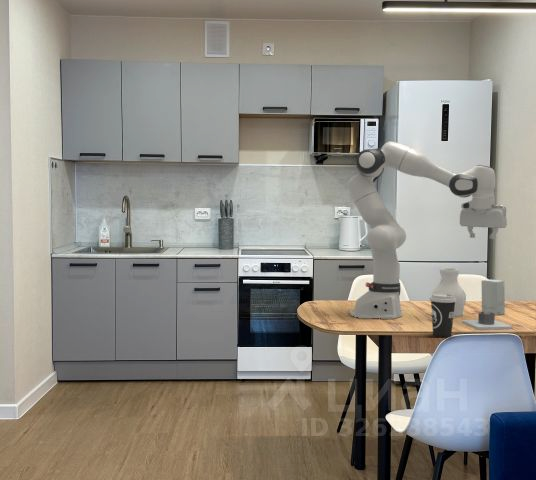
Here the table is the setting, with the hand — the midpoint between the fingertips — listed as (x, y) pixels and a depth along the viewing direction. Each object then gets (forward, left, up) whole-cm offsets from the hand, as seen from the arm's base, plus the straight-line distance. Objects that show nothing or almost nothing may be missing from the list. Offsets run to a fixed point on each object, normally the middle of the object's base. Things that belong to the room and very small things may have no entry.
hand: (482, 238), depth 267 cm
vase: (-8, +13, -34) cm, 38 cm away
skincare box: (+13, +14, -34) cm, 39 cm away
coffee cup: (-28, -27, -34) cm, 52 cm away
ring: (-3, -12, -33) cm, 35 cm away
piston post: (-3, -12, -34) cm, 36 cm away
